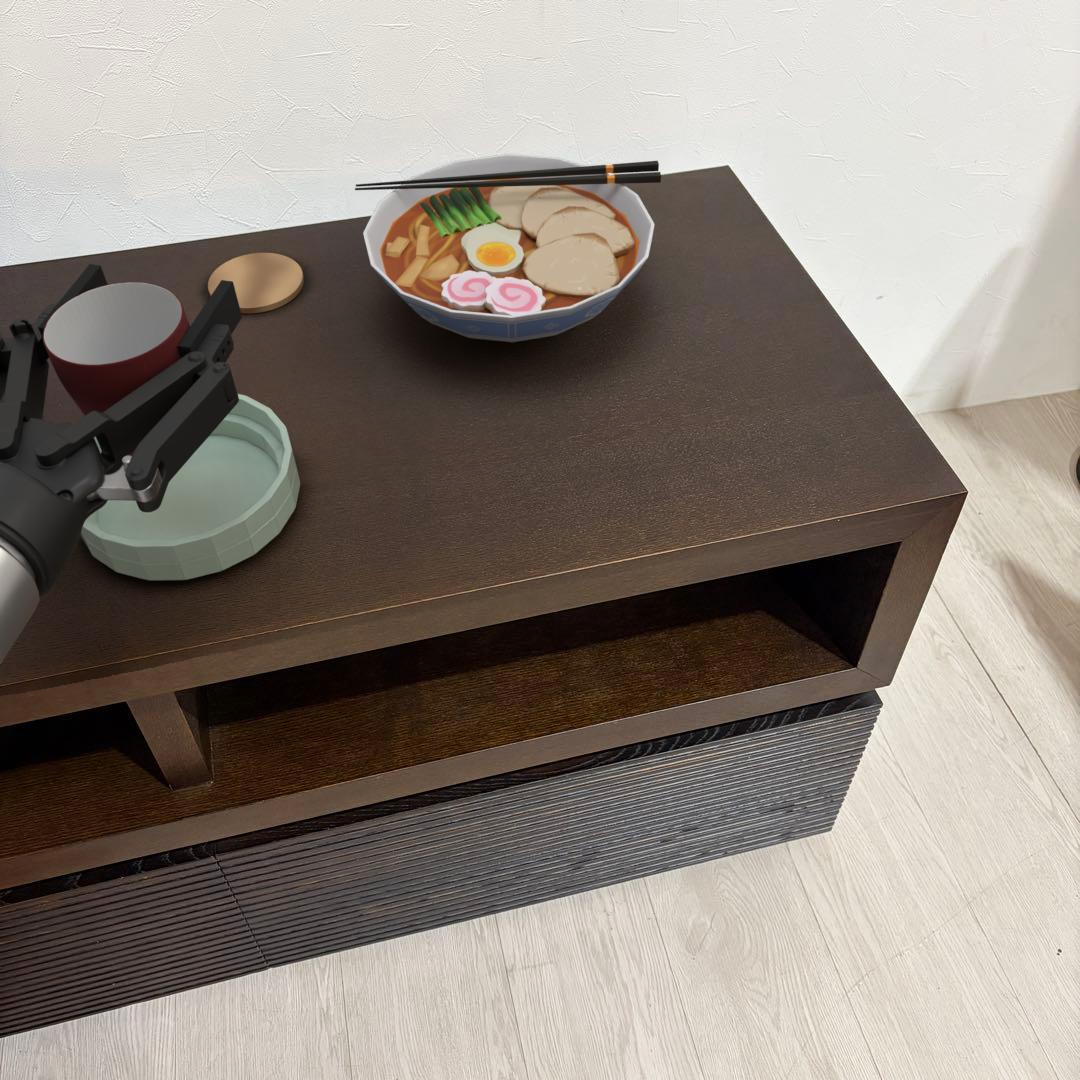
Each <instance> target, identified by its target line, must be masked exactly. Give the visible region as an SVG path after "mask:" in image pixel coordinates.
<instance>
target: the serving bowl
mask: <svg viewBox="0 0 1080 1080" xmlns="http://www.w3.org/2000/svg"><path fill="white" fill-rule="evenodd" d="M238 397H239V402H238V403H237V405H236V406H235V407H234V408H233V409H232V410H231V411H230V413H229V414H228V415H227V416H226V417H225V418H224V420H223V421H222V422H221V423H220V424H219V425H218V426H217V428H216V429H215V430H214V431H213V432H212V433H211V434H210V436H209V437H208V438H207V439H206V440H205V441H204V443H203V444H202V445H201V446H200V447H199V448H198V449H197V451H196V452H195V453H194V454H193V455H192V456H191V457H190V459H189V460H188V461H187V462H186V463H185V464H184V465H183V467H182V468H181V469H180V470H179V471H178V472H177V474H176V475H175V476H174V477H173V478H172V479H171V480H170V482H169V484H168V486H167V489H166V492H165V495H164V497H163V500H162V503H161V505H160V507H159V508H158V509H157V510H155V511H153V512H148V513H146V512H142V511H141V510H139V508H138V505H137V503H136V501H128V500H108V501H107V503H106V504H105V505H104V506H103V507H102V508H100V509H99V510H97V511H96V512H94V513H93V514H92V515H90V516H89V517H88V518H87V519H86V521H85V522H84V525H83V528H82V531H81V534H80V538H81V539H82V541H83V543H84V544H85V546H86V547H87V549H88V551H89V553H90V554H91V556H93V557H94V558H95V559H96V560H98V561H99V562H101V563H102V564H104V565H105V566H107V567H108V568H110V569H111V570H113V571H114V572H116V573H118V574H122V575H126V576H130V577H133V578H138V579H141V580H144V581H145V580H146V581H187V580H191V579H196V578H199V577H203V576H207V575H211V574H215V573H220V572H222V571H225V570H226V569H229V568H231V567H232V566H235V565H237V564H239V563H241V562H243V561H245V560H247V559H249V558H251V557H252V556H254V555H256V554H257V553H258V552H259V551H261V550H262V549H263V548H264V547H266V546H267V545H268V544H269V543H270V542H271V541H272V540H273V539H275V538H276V537H277V536H278V535H280V533H281V532H282V530H283V529H284V527H285V525H286V524H287V523H288V521H289V519H290V518H291V516H292V514H293V513H294V511H295V509H296V507H297V504H298V503H297V502H298V498H299V493H300V487H301V480H300V476H299V471H298V467H297V464H296V459H295V455H294V450H293V447H292V444H291V440H290V435H289V432H288V428H287V426H286V425H285V424H284V422H282V420H281V419H280V418H279V417H278V415H277V414H275V412H274V411H273V410H272V409H271V408H270V407H268V406H267V405H265V404H264V403H261V402H259V401H258V400H255V399H253V398H251V397H250V396H248V395H245V394H241V393H238ZM94 439H95V441H96V444H97V446H98V448H99V451H100V453H101V448H100V446H99V443H98V441H97V439H96V436H95V437H94Z"/></svg>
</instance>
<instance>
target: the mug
mask: <svg viewBox="0 0 1080 1080" xmlns="http://www.w3.org/2000/svg"><path fill="white" fill-rule="evenodd" d="M190 326H191V324H190V322H189V319H188V316H187V314H186V311H185V308H184V306H183V303H182V301H181V300H180V298H179V297H178V296H177V295H176V294H175V293H174V292H173V291H171V290H170V289H168V288H166V287H163V286H161V285H158V284H155V283H150V282H142V281H125V282H116V283H110V284H108V285H105V286H101V287H98V288H94V289H91V290H89V291H86V292H84V293H82V294H80V295H77V296H76V297H74V298H72V299H70V300H69V301H67V302H66V303H64V304H63V305H62V306H60V307H59V308H58V309H57V310H56V311H55V312H54V313H53V314H52V315H51V317H50V318H49V320H48V321H47V323H46V325H45V327H44V330H43V342H44V346H45V348H46V351H47V353H48V355H49V358H48V359H49V361H50V362H51V365H52V366H53V369H54V372H55V374H56V376H57V377H58V379H59V381H60V382H61V385H62V386H63V388H64V389H65V391H66V392H67V394H68V395H69V396H70V398H71V399H72V401H73V402H74V403H75V405H76V406H77V407H78V409H79V410H80V411H81V413H82V414H83V415H84V416H86V415H87V414H88V413H90V412H92V411H98V412H104V411H106V410H107V409H109V408H110V407H111V406H113V405H114V404H116V403H117V402H119V401H120V400H122V399H123V398H124V397H126V396H127V395H129V394H130V393H132V392H133V391H135V390H136V389H137V388H139V387H140V386H142V385H143V384H145V383H146V382H148V381H149V380H150V379H152V378H153V377H155V376H156V375H158V374H159V373H161V372H162V371H163V370H165V369H166V368H168V367H169V366H171V365H172V364H174V363H175V362H176V361H178V360H179V359H181V355H180V352H179V349H178V344H179V343H180V341H181V340H182V338H183V337H184V335H185V334H186V332H187V331H188V329H189V328H190ZM134 451H135V450H134ZM134 451H132V452H131V453H130V456H132V455H133V453H134Z"/></svg>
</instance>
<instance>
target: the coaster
mask: <svg viewBox="0 0 1080 1080" xmlns="http://www.w3.org/2000/svg"><path fill="white" fill-rule="evenodd" d="M221 280H225V281H233V284H234V287H235V291H236V295H237V299H238V303H239V307H240V310H241V314H260V313H265V312H269V311H274V310H276V309H279V308H281V307H283V306H284V305H287V304H289V303H290V302H291V301H292V300H294V299H295V298H296V297H297V296H299V294H300V292H301V291H302V289H303V287H304V284H305V283H304V282H305V278H304V274H303V269H302V267H301V265H300V264H299V263H297V262H296V261H295V260H294V259H293V258H291V257H289V256H286V255H284V254H280V253H275V252H253V253H248V254H242V255H240V256H237V257H234V258H231V259H230V260H227V261H225V262H224V263H222V264H221V265H219V266H218V267H217V268H216V269H214V271H213V272H212V273H211V275H210V276H209V279H208V282H207V290H208V294H209V297H210V296H211V295H212V293H213V292H214V290H215V289H216V287H217V286H218V285H219V283H220V282H221Z"/></svg>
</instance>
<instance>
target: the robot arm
mask: <svg viewBox="0 0 1080 1080" xmlns="http://www.w3.org/2000/svg"><path fill="white" fill-rule="evenodd" d="M105 285H109V284H108V281H107V279H106V275H105V273H104V270H103V268H102V265H101V264H100V265H99V264H93V263H92V264H91V263H89V264H88V265H87V267H86V268H85V269H84V270H83V272H82V273H81V274H80V275H79V277H78V278H77V279H76V280H75V281H74V283H72V285H71V286H70V288H69V289H68V290H67V291H66V293H65V294H64V295H63V296H62V297H61V298H60V300H59V301H58V302H57V303H51V304H49V305H48V306H46V307H45V308H44V309H43V310H42V312H41V313H40V314H39V315H38V317H37V318H36V319H35V320H34V321H33V323H31V321H30V320H29V319H26V318H19V319H16V320H14V321H11V323H10V324H9V325H8V328H9V331H10V332H11V335H12V336H13V337H6V338H3V337H2V335H1V334H0V402H1V401H2V398H3V401H2V402H1V403H0V665H2V663H3V661H4V660H5V658H6V657H7V655H8V654H9V652H10V650H11V649H12V648H13V646H14V644H15V643H16V641H17V640H18V638H19V636H20V635H21V633H22V632H23V630H24V629H25V628H26V626H27V624H28V623H29V621H30V619H31V618H32V616H33V615H34V614H35V611H36V610H37V608H38V606H39V603H40V598H41V597H43V596H45V595H46V594H47V593H48V592H49V591H50V590H51V587H52V586H53V585H54V583H55V581H56V580H57V578H58V577H59V575H60V574H61V572H62V570H63V569H64V567H65V566H66V564H67V563H68V561H69V560H70V558H71V557H72V555H73V553H74V552H75V551H76V548H77V547H78V544H79V541H80V538H81V536H80V534H81V531H82V528H83V525H84V522H85V521H86V519H87V518H88V517H89V516H90V515H92V514H93V513H94V512H96V511H97V510H99V509H100V508H102V507H103V506H104V505H105V504H106V503H107V501H108V500H128V501H136V503H137V505H138V508H139V510H141V511H142V512H146V513H148V512H153V511H155V510H157V509H158V508H159V507H160V505H161V503H162V500H163V497H164V495H165V492H166V489H167V486H168V484H169V482H170V480H171V479H172V478H173V477H174V476H175V475H176V474H177V472H178V471H179V470H180V469H181V468H182V467H183V465H184V464H185V463H186V462H187V461H188V460H189V459H190V457H191V456H192V455H193V454H194V453H195V452H196V451H197V449H198V448H199V447H200V446H201V445H202V444H203V443H204V441H205V440H206V439H207V438H208V437H209V436H210V434H211V433H212V432H213V431H214V430H215V429H216V428H217V426H218V425H219V424H220V423H221V422H222V421H223V420H224V418H225V417H226V416H227V415H228V414H229V413H230V411H231V410H232V409H233V408H234V407H235V406H236V405H237V403H238V402H239V397H238V394H239V393H238V391H237V387H236V383H235V380H234V375H233V372H232V369H231V366H230V365H229V363H227V361H228V359H229V358H230V356H231V355H232V353H233V351H234V349H235V346H234V345H235V344H234V340H233V333H234V331H235V329H236V328H237V327H238V325H239V323H240V322H241V320H242V318H243V315H242V314H243V313H241V310H240V307H239V303H238V299H237V295H236V291H235V287H234V284H233V281H225V280H221V282H220V283H219V285H218V286H217V287H216V289H215V290H214V292H213V293H212V295H211V296H210V295H209V298H208V299H207V300H206V302H205V304H204V305H203V307H202V308H201V310H200V311H199V312H198V314H197V316H196V317H195V319H194V320H193V322H192V323H191V324H190V328H189V329H188V331H187V332H186V334H185V335H184V337H183V338H182V340H181V341H180V343H179V344H178V349H179V352H180V355H181V359H179V360H178V361H176V362H175V363H174V364H172V365H171V366H169V367H168V368H166V369H165V370H163V371H162V372H161V373H159V374H158V375H156V376H155V377H153V378H152V379H150V380H149V381H148V382H146V383H145V384H143V385H142V386H140V387H139V388H137V389H136V390H135V391H133V392H132V393H130V394H129V395H127V396H126V397H124V398H123V399H122V400H120V401H119V402H117V403H116V404H114V405H113V406H111V407H110V408H109V409H107V410H106V411H104V412H98V411H92V412H90V413H88V414H87V415H86V416H85V415H84V416H83V417H81V418H80V419H78V420H77V421H75V422H74V423H53V422H52V421H51V422H50V421H48V420H46V419H44V412H45V411H44V410H45V403H46V394H47V387H48V378H49V371H50V363H49V361H48V360H49V359H50V358H49V355H48V353H47V351H46V348H45V346H44V342H43V330H44V327H45V325H46V323H47V321H48V320H49V318H50V317H51V315H52V314H53V313H54V312H55V311H56V310H57V309H58V308H59V307H60V306H62V305H63V304H64V303H66V302H67V301H69V300H70V299H72V298H74V297H76V296H77V295H80V294H82V293H84V292H86V291H89V290H91V289H94V288H98V287H101V286H105ZM95 436H96V439H97V441H98V443H99V446H100V448H101V453H100V451H99V448H98V446H97V444H96V441H95V439H94V437H95ZM134 450H135V451H134ZM132 451H134V453H133V455H132V456H130V453H131V452H132Z"/></svg>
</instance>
